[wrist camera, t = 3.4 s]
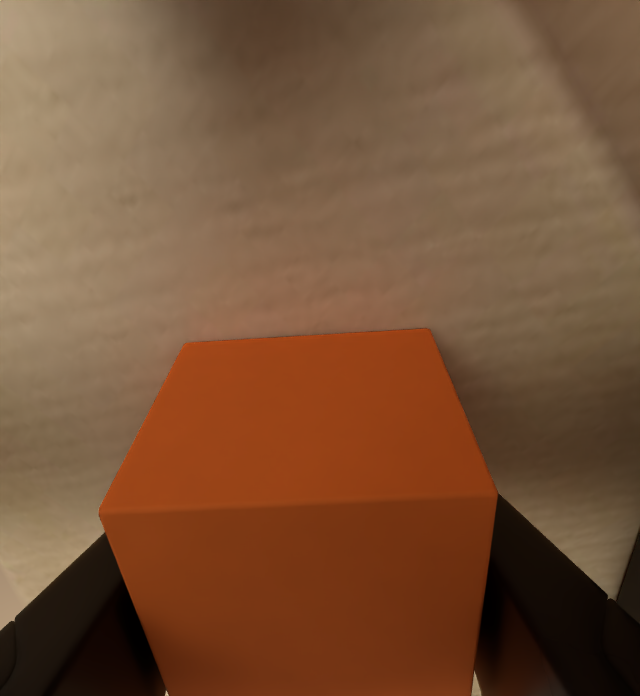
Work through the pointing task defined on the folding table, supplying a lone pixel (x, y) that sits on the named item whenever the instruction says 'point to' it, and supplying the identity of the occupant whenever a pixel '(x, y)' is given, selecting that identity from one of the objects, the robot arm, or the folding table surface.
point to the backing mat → (632, 586)
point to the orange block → (307, 520)
